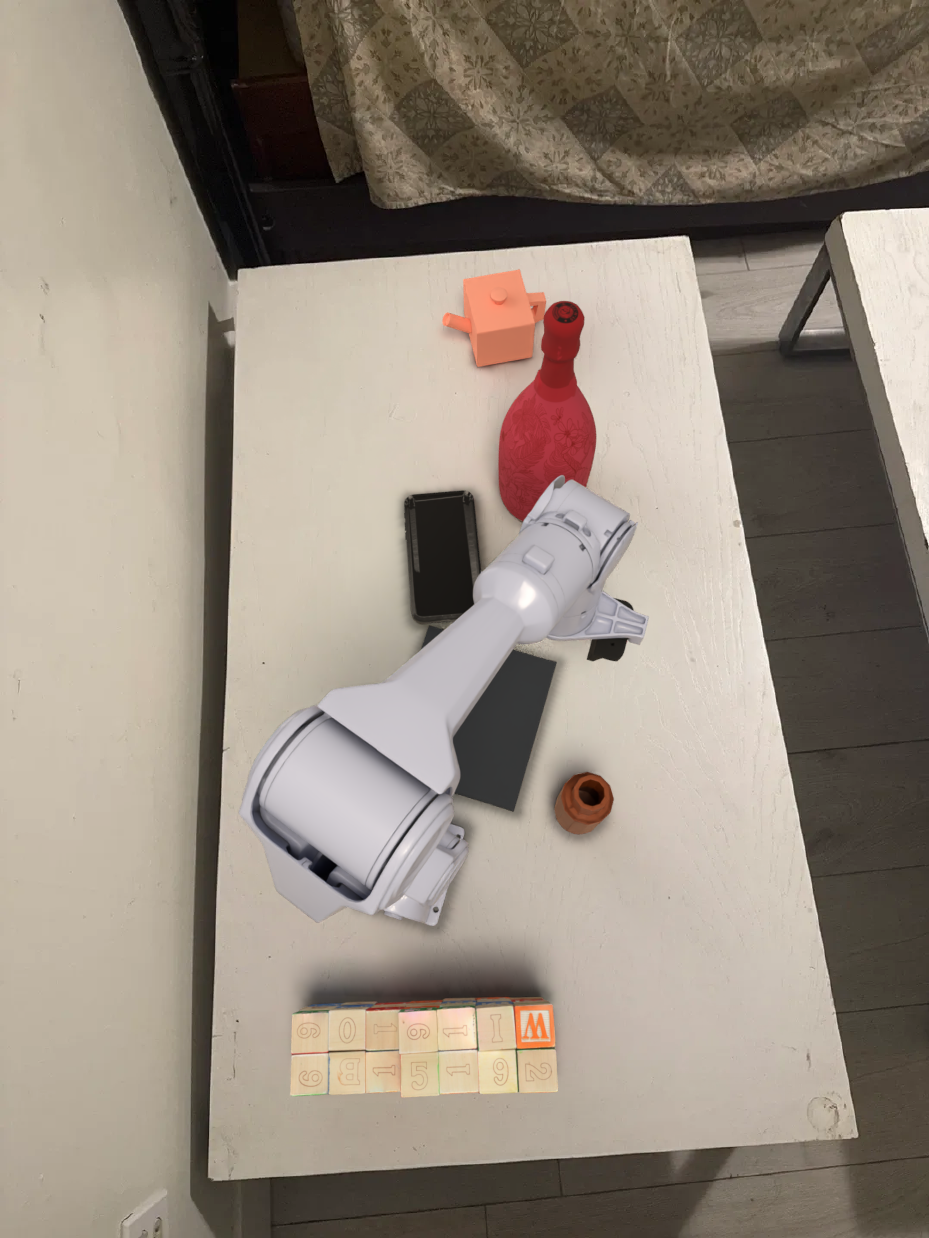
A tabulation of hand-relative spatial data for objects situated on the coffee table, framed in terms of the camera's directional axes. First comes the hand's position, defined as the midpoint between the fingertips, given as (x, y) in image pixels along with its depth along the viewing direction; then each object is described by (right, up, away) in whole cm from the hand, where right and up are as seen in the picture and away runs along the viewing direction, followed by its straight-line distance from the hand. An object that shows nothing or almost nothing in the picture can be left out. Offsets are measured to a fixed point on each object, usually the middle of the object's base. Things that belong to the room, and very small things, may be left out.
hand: (552, 639), depth 81 cm
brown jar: (+3, -17, +5) cm, 18 cm away
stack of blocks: (-12, -36, -2) cm, 38 cm away
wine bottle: (0, +16, +17) cm, 24 cm away
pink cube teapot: (-5, +35, +24) cm, 43 cm away
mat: (-8, -8, +8) cm, 14 cm away
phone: (-11, +9, +14) cm, 20 cm away
